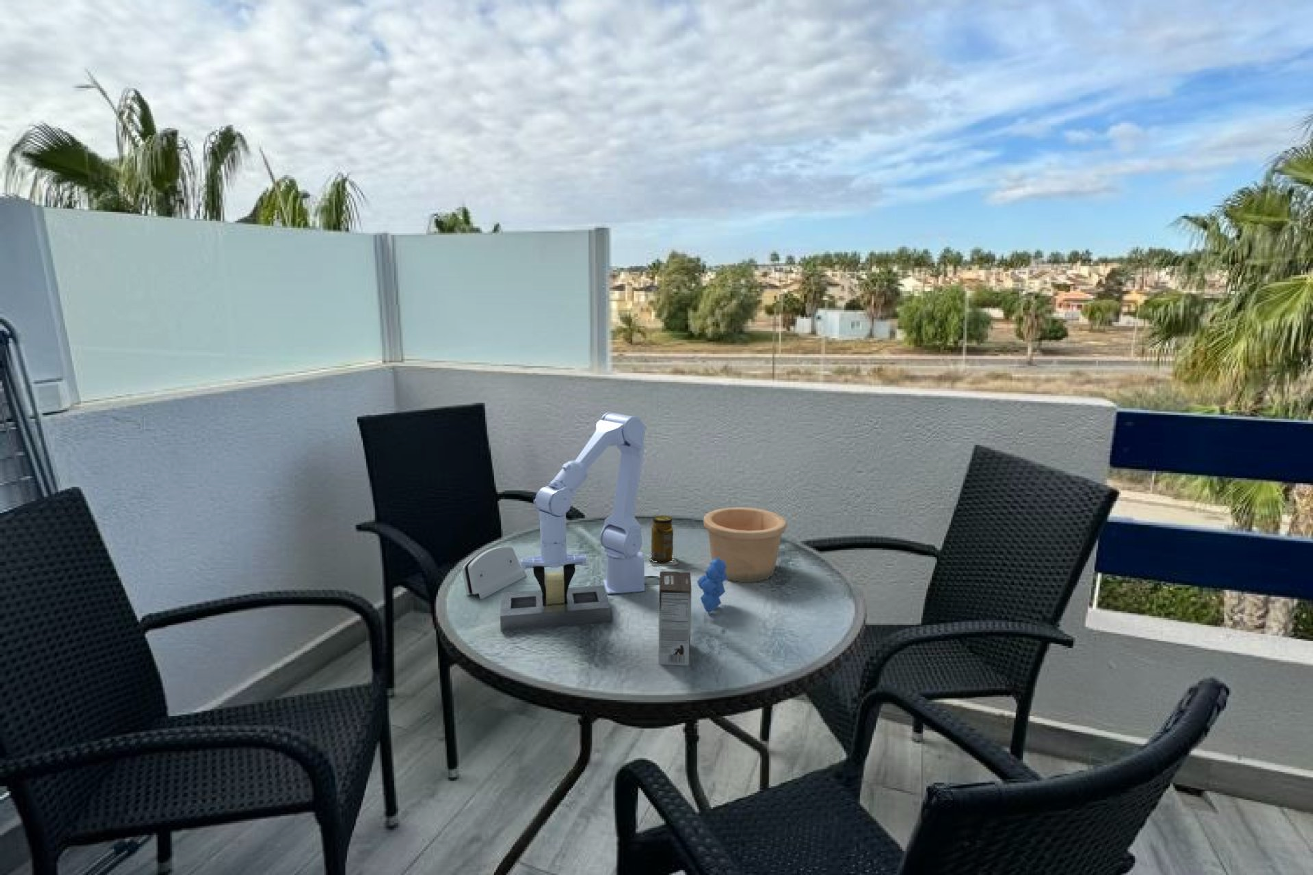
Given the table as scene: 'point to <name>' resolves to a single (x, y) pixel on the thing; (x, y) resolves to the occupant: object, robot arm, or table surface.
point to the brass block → (554, 588)
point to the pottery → (745, 541)
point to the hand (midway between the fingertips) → (554, 596)
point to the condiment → (662, 541)
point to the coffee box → (674, 618)
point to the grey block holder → (554, 609)
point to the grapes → (713, 584)
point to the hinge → (491, 571)
